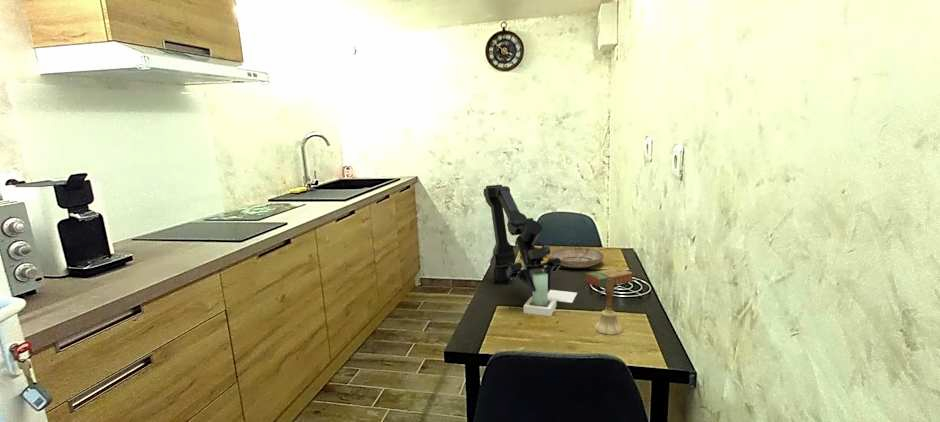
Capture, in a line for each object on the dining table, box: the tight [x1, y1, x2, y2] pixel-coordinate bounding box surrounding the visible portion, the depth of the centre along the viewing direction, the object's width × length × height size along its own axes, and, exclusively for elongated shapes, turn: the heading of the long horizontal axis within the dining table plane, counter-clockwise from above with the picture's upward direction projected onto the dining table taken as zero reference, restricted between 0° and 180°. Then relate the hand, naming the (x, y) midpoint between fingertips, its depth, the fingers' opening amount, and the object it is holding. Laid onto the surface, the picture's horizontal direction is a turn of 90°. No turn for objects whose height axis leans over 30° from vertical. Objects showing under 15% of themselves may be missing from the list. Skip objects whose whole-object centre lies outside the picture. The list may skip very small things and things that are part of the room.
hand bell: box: [594, 279, 623, 336], centre depth 142 cm, size 8×8×16 cm
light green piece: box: [532, 271, 549, 307], centre depth 158 cm, size 5×5×11 cm
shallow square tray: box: [523, 296, 557, 317], centre depth 159 cm, size 9×9×3 cm
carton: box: [585, 266, 633, 288], centre depth 185 cm, size 8×16×4 cm, turn 112°
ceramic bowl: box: [549, 247, 605, 269], centre depth 209 cm, size 23×24×5 cm
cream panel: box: [548, 289, 578, 304], centre depth 170 cm, size 10×10×1 cm
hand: (542, 290), depth 156 cm, fingers closed on light green piece, 5 cm apart
